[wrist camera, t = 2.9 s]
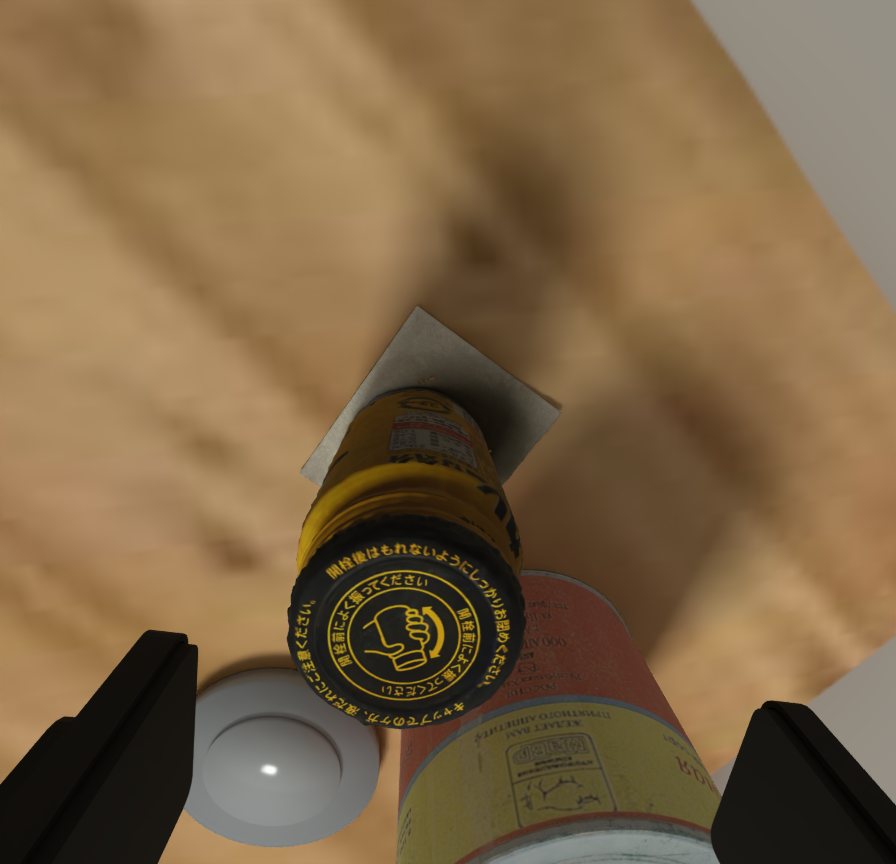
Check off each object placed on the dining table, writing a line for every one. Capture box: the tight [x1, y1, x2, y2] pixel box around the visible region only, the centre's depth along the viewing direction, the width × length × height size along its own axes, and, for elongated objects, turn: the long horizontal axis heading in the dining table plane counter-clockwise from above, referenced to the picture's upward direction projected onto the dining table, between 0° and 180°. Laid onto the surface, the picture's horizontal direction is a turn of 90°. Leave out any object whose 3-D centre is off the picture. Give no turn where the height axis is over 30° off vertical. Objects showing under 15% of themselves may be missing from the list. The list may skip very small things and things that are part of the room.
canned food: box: [396, 570, 722, 864], centre depth 21 cm, size 11×11×12 cm
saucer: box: [184, 668, 380, 847], centre depth 26 cm, size 10×10×1 cm
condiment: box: [287, 306, 561, 729], centre depth 17 cm, size 7×8×12 cm
